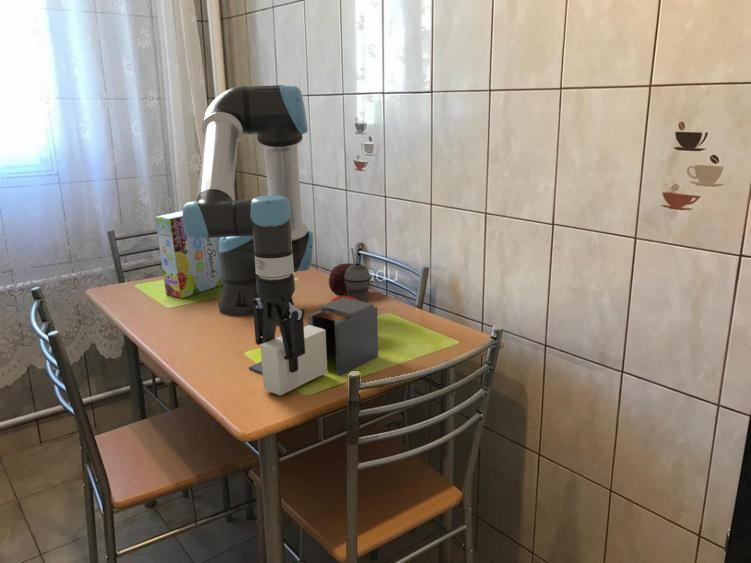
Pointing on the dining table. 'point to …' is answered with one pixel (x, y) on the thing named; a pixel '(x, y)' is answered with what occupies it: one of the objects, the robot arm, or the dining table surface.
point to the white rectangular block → (308, 363)
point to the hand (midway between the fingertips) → (282, 381)
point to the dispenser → (348, 332)
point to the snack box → (187, 258)
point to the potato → (338, 279)
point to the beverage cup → (357, 281)
